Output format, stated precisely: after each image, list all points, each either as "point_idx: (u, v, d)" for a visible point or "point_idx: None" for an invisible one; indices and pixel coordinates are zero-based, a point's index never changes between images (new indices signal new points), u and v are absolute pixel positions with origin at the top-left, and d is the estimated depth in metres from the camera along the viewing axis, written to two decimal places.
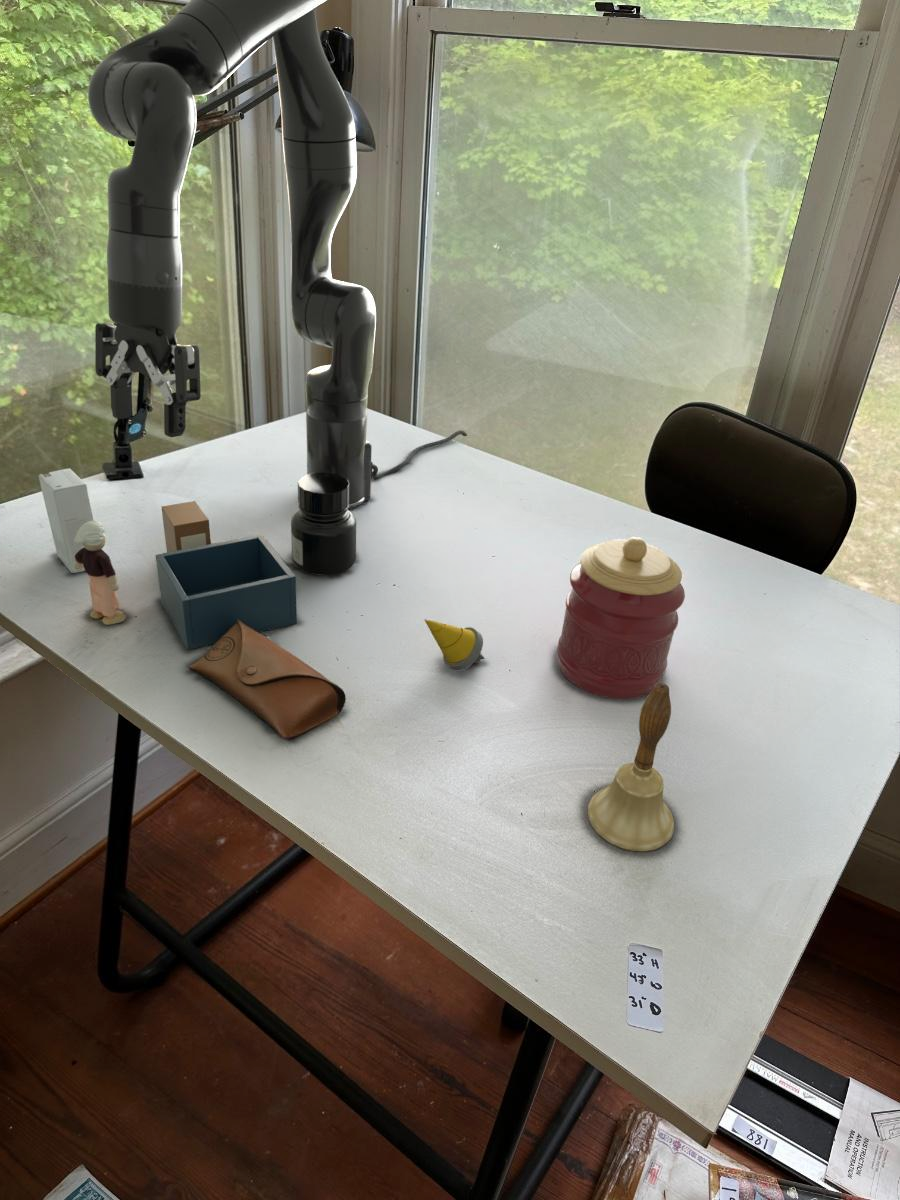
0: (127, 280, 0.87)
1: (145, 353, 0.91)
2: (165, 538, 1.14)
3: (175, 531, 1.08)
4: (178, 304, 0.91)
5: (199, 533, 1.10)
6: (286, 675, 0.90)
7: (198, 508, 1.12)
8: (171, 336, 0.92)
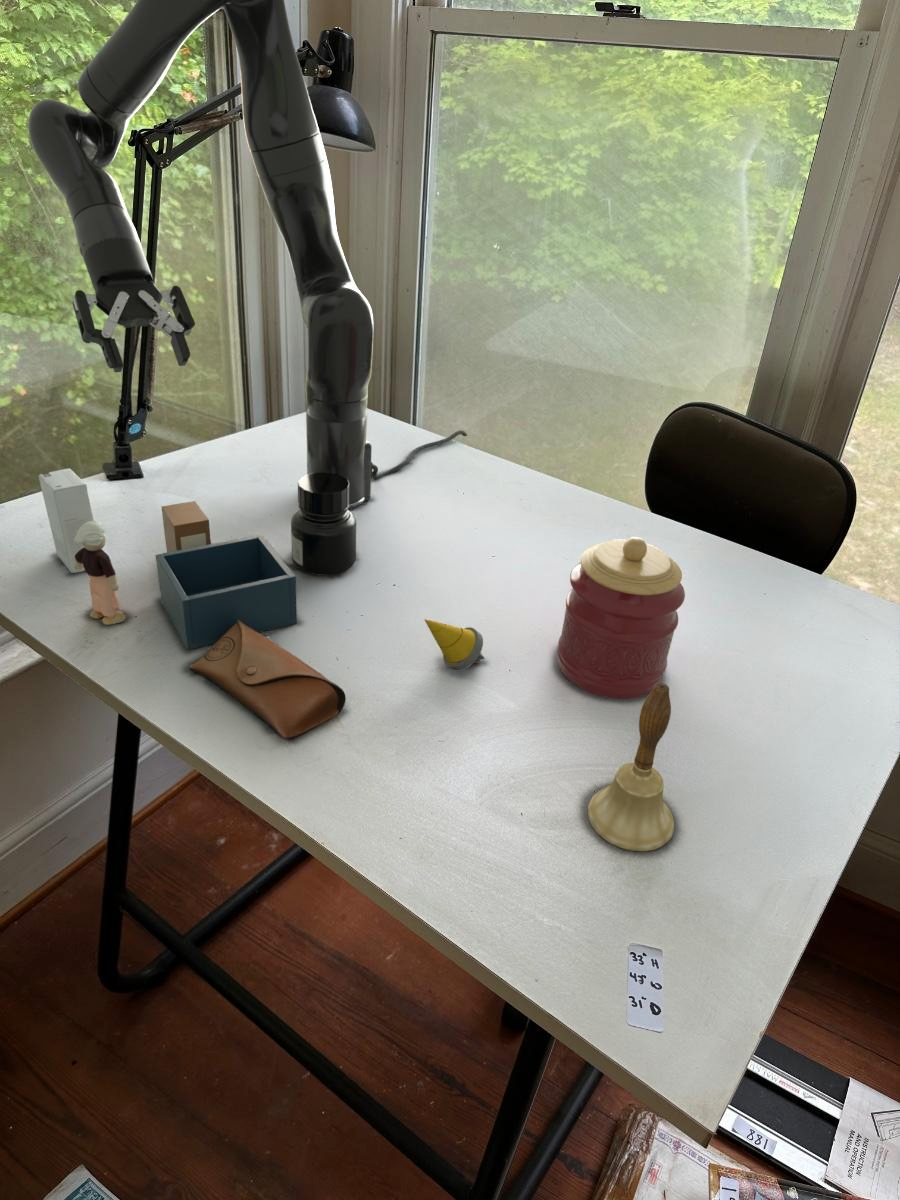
0: None
1: None
2: (165, 538, 1.14)
3: (175, 531, 1.08)
4: (92, 262, 1.08)
5: (199, 533, 1.10)
6: (286, 675, 0.90)
7: (198, 508, 1.12)
8: (96, 290, 1.08)
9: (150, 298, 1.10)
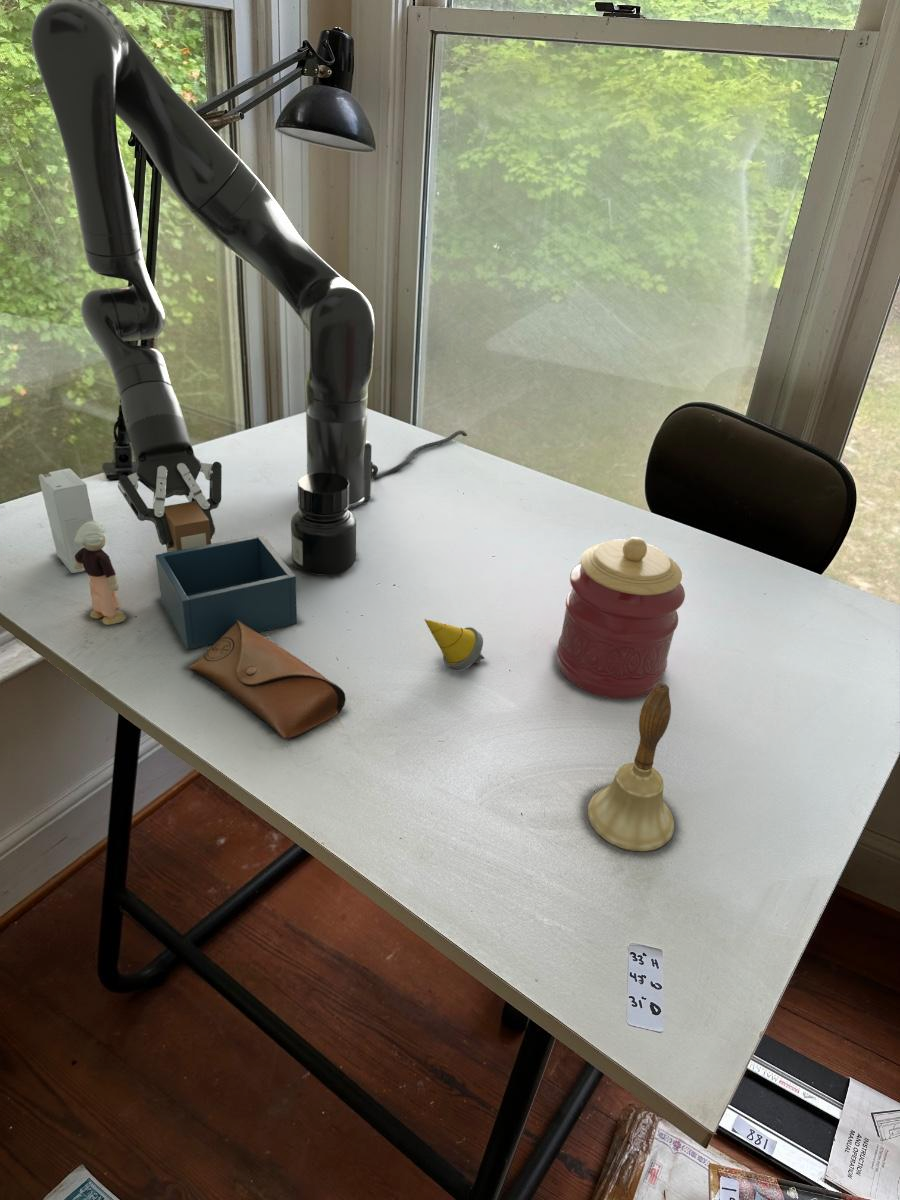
0: None
1: None
2: None
3: (175, 531, 1.08)
4: (134, 438, 1.11)
5: (199, 533, 1.10)
6: (286, 675, 0.90)
7: (198, 508, 1.12)
8: (137, 465, 1.12)
9: (187, 472, 1.12)
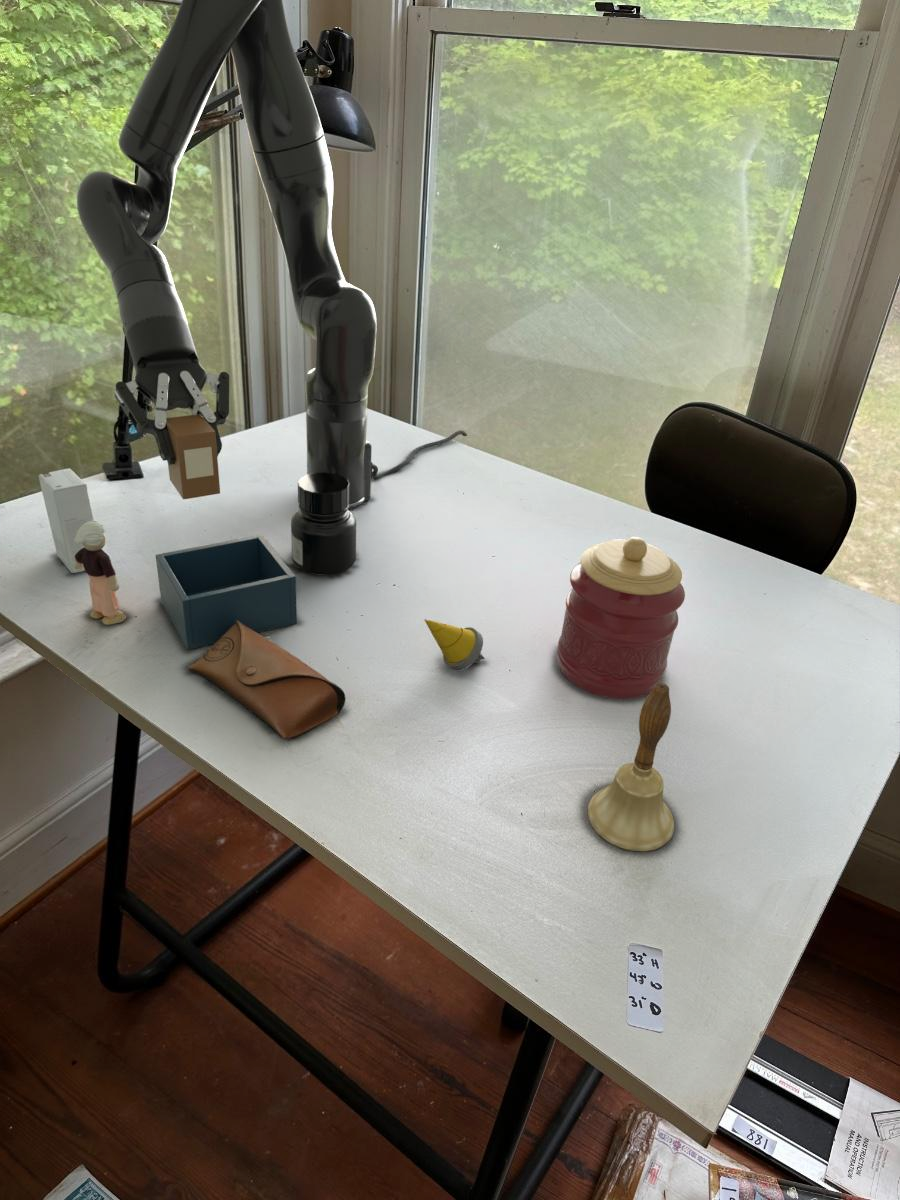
0: None
1: None
2: None
3: (178, 442, 0.97)
4: (132, 342, 1.00)
5: (204, 446, 0.99)
6: (286, 675, 0.90)
7: (203, 420, 1.01)
8: (136, 372, 1.01)
9: (191, 381, 1.02)
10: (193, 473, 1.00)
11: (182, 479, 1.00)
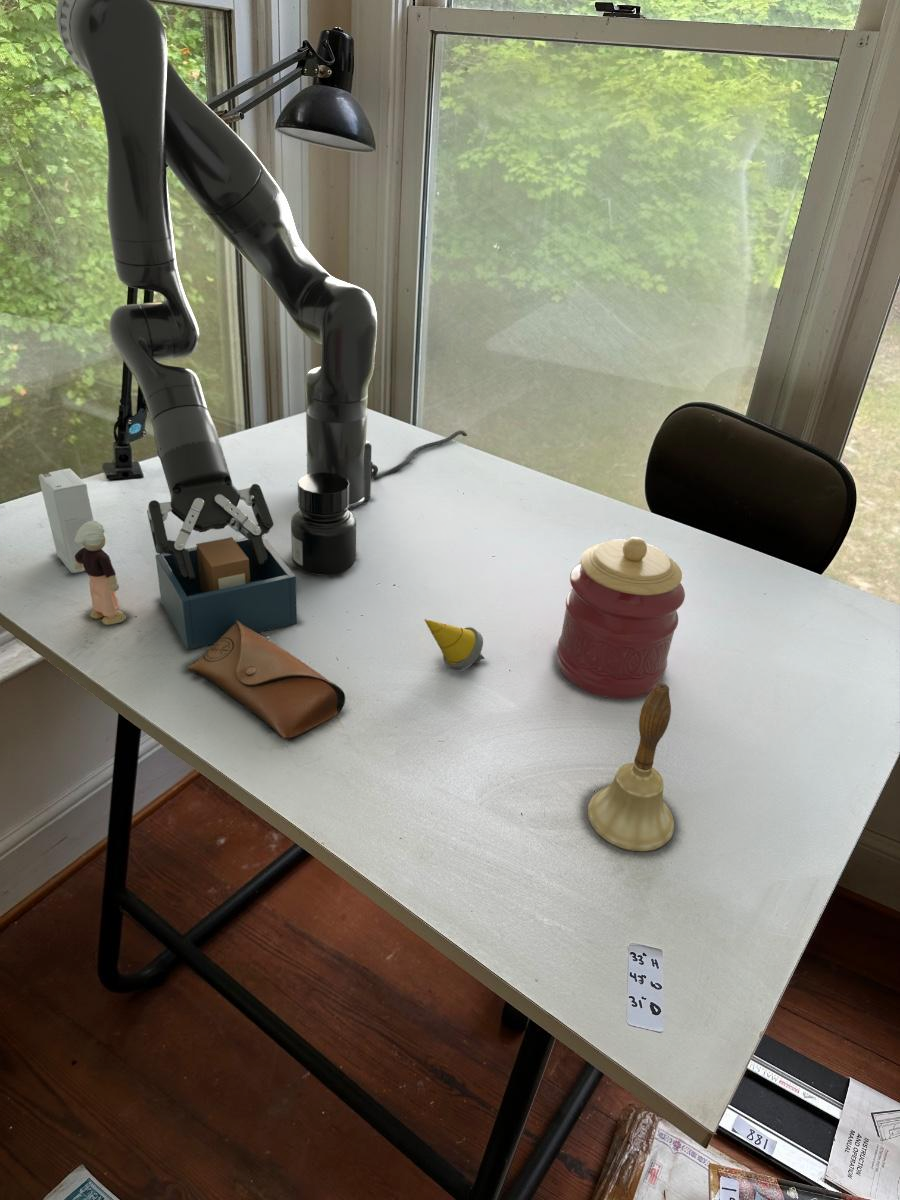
0: None
1: None
2: (199, 577, 1.05)
3: (212, 572, 0.99)
4: (168, 468, 1.02)
5: (238, 573, 1.01)
6: (285, 675, 0.90)
7: (236, 545, 1.03)
8: (172, 496, 1.03)
9: (227, 502, 1.03)
10: None
11: None
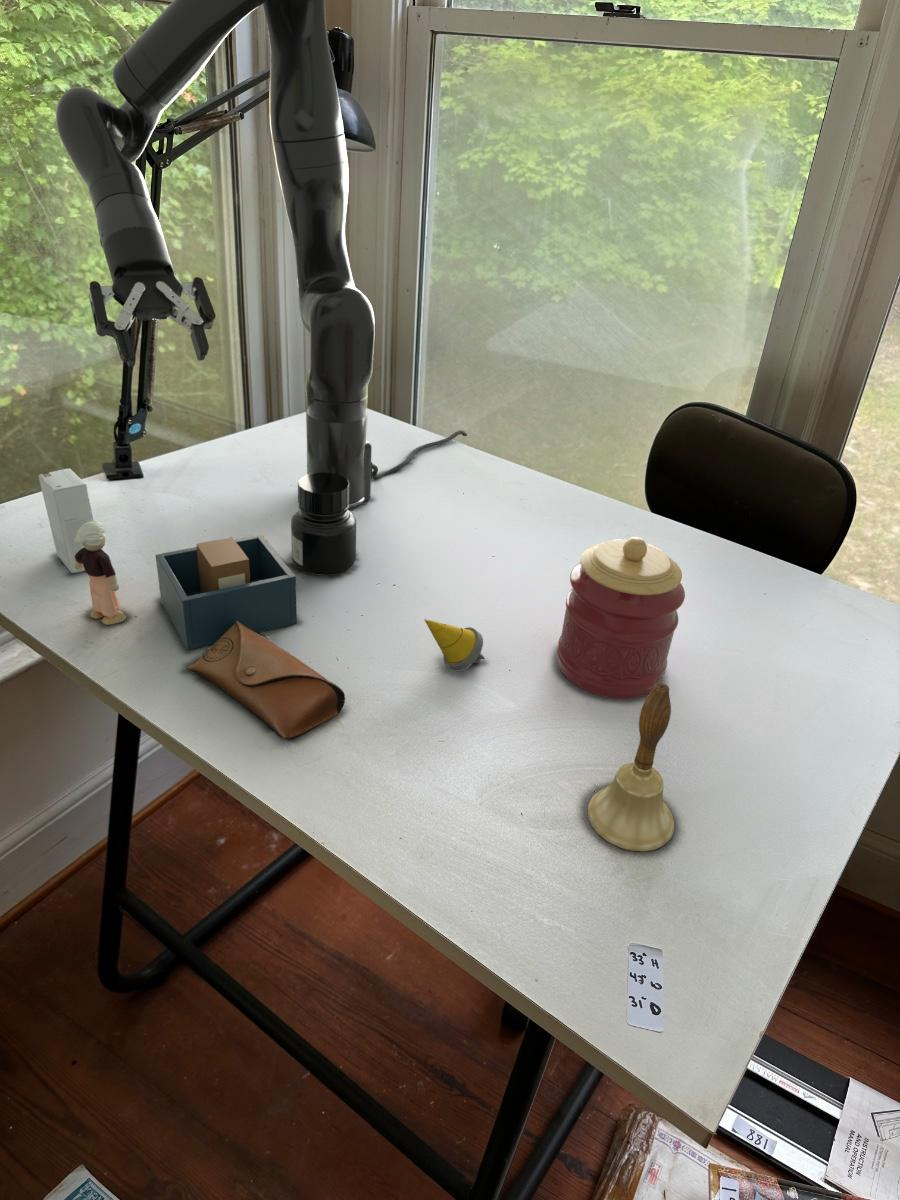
0: None
1: None
2: (199, 577, 1.05)
3: (212, 572, 0.99)
4: (109, 252, 1.03)
5: (238, 573, 1.01)
6: (285, 675, 0.90)
7: (236, 545, 1.03)
8: (113, 282, 1.04)
9: (168, 289, 1.05)
10: None
11: None
